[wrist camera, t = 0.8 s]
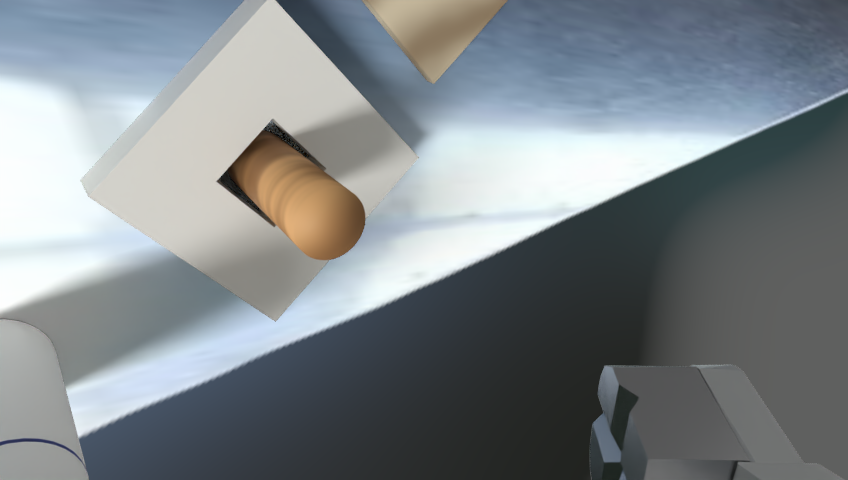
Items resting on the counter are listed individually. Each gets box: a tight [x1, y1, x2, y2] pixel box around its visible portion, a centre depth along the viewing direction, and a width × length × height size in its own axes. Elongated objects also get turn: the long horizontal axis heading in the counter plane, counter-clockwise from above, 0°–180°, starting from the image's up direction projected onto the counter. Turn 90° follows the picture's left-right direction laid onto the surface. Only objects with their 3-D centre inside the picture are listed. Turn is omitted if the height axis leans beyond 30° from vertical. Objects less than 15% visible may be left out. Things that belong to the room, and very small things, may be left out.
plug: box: [227, 130, 365, 260], centre depth 45 cm, size 4×4×12 cm
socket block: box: [81, 0, 419, 322], centre depth 48 cm, size 16×16×3 cm
